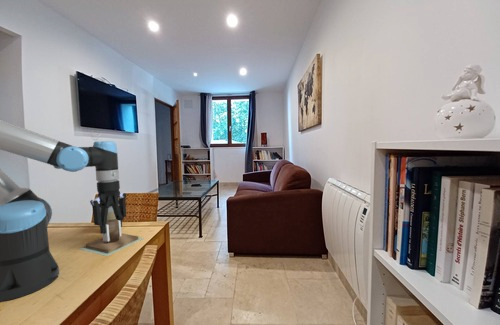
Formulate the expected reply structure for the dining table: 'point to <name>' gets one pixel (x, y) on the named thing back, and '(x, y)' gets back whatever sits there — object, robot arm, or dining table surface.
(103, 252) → the rubber mat
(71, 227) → the dining table surface
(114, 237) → the walnut cover
